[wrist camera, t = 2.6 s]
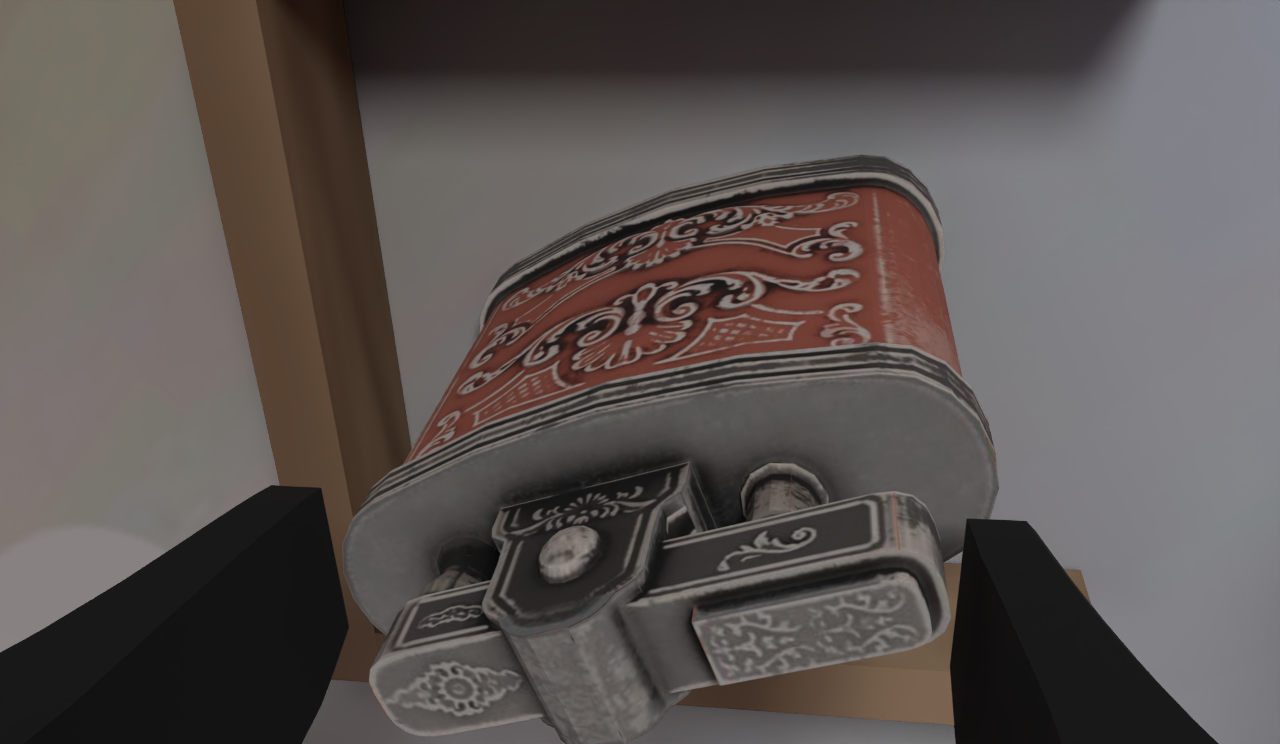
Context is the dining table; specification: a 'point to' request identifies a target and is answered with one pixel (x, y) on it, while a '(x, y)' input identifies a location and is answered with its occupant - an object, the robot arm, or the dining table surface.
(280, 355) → the wooden u-shaped frame
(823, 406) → the lighter
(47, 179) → the dining table surface
